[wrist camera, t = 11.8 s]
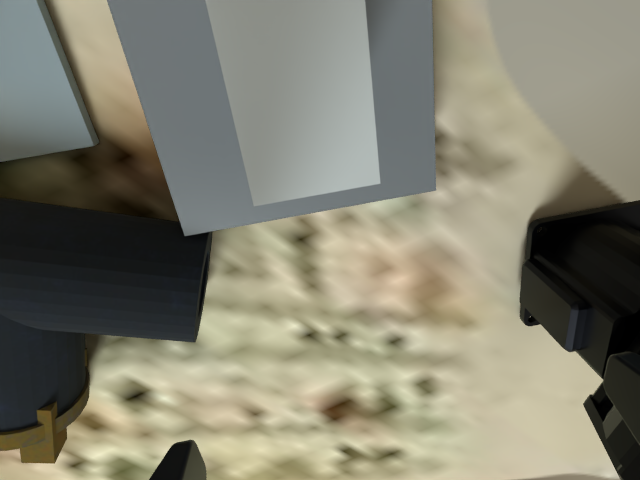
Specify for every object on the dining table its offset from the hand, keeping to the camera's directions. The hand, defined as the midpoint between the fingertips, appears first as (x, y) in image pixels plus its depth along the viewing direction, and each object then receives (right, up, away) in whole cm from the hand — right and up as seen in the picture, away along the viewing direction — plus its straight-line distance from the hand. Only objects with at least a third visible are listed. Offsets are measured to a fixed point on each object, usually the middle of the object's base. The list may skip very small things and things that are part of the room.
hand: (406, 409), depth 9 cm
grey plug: (-3, +11, +8) cm, 14 cm away
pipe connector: (-15, +1, +12) cm, 19 cm away
